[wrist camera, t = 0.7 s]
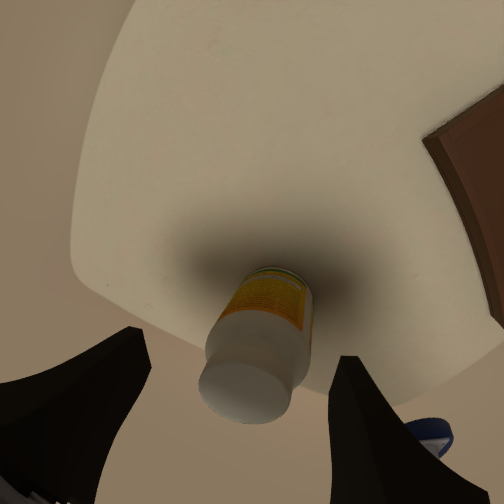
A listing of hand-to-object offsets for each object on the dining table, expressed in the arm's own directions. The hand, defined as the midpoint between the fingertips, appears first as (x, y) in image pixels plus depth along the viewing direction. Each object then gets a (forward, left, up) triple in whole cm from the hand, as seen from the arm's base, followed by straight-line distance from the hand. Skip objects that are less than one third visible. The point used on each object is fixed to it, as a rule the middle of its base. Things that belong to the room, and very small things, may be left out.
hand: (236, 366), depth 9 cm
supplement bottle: (-2, 0, -10) cm, 11 cm away
